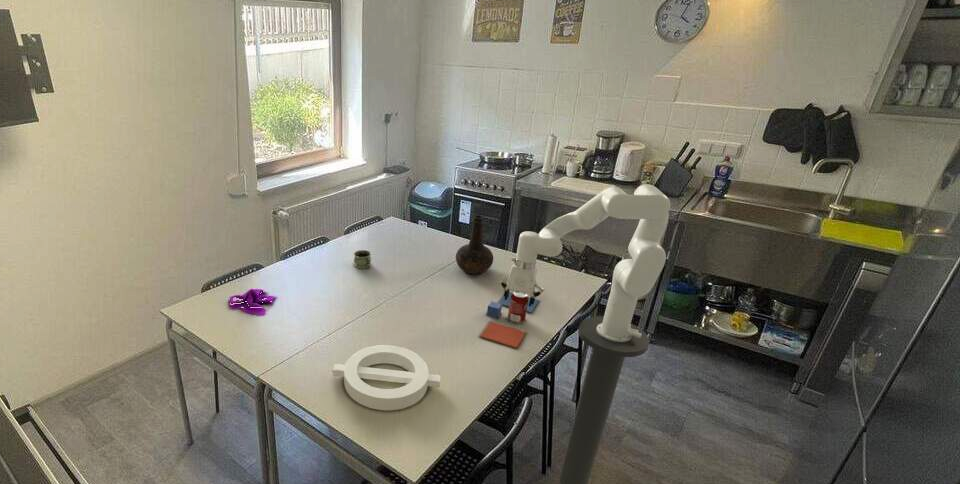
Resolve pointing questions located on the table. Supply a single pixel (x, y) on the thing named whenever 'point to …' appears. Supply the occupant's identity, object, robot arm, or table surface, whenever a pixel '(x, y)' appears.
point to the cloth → (252, 301)
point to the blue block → (494, 309)
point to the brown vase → (475, 251)
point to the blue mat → (507, 303)
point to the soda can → (518, 307)
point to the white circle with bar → (386, 377)
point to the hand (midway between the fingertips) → (518, 301)
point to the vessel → (362, 258)
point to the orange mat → (503, 334)
